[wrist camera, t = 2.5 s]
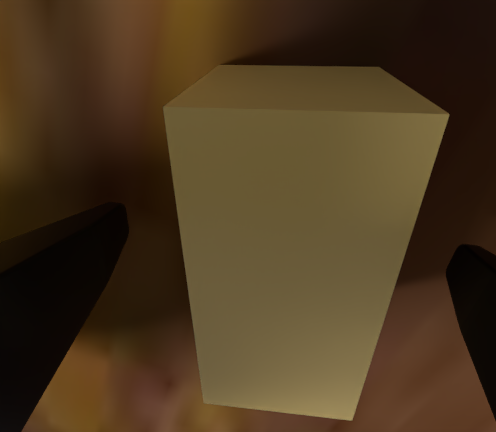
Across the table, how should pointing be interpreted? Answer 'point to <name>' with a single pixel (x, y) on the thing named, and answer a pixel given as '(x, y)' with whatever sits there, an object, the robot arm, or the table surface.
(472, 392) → the table surface
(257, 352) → the block
